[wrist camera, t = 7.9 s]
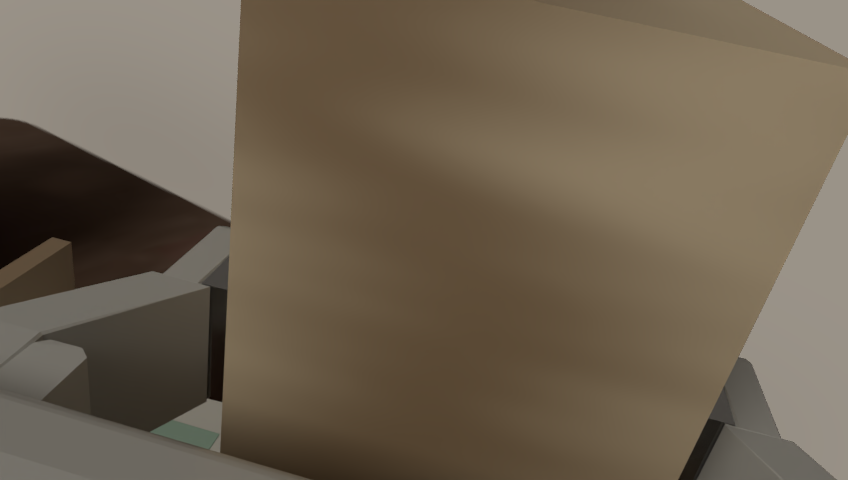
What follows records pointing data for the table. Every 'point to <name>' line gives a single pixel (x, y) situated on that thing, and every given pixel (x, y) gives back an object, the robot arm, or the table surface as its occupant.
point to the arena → (55, 274)
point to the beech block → (508, 229)
